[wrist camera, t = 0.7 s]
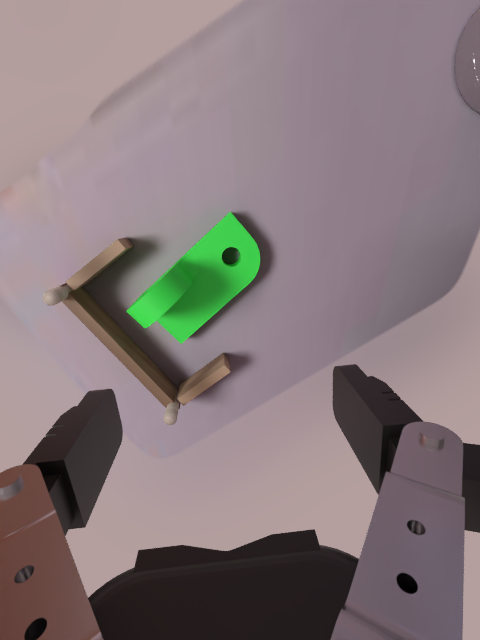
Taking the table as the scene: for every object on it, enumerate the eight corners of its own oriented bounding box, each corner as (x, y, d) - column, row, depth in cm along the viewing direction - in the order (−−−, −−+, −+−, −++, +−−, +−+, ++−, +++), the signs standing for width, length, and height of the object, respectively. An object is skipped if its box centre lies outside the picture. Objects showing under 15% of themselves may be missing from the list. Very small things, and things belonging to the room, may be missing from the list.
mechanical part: (182, 336, 34) (174, 370, 26) (140, 295, 32) (118, 319, 25) (269, 259, 32) (287, 272, 25) (229, 212, 31) (235, 210, 23)
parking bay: (125, 236, 30) (109, 239, 26) (229, 360, 35) (232, 382, 30) (65, 285, 31) (39, 297, 26) (175, 399, 36) (169, 427, 31)
